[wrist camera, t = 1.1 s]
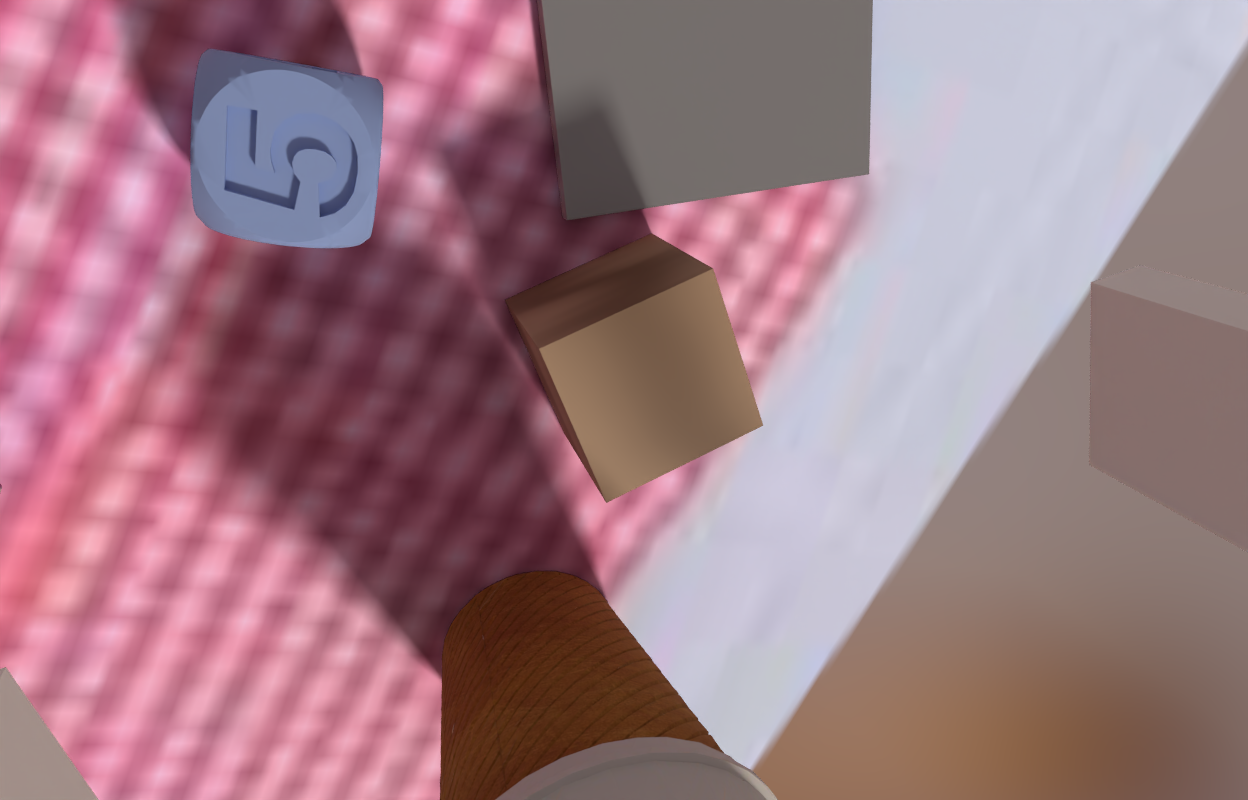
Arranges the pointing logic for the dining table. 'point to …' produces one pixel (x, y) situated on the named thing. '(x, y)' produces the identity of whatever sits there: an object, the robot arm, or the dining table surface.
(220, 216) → the decorative dice
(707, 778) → the disposable coffee cup
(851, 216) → the dining table surface
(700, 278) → the walnut cube
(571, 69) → the slate coaster
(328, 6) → the dining table surface
